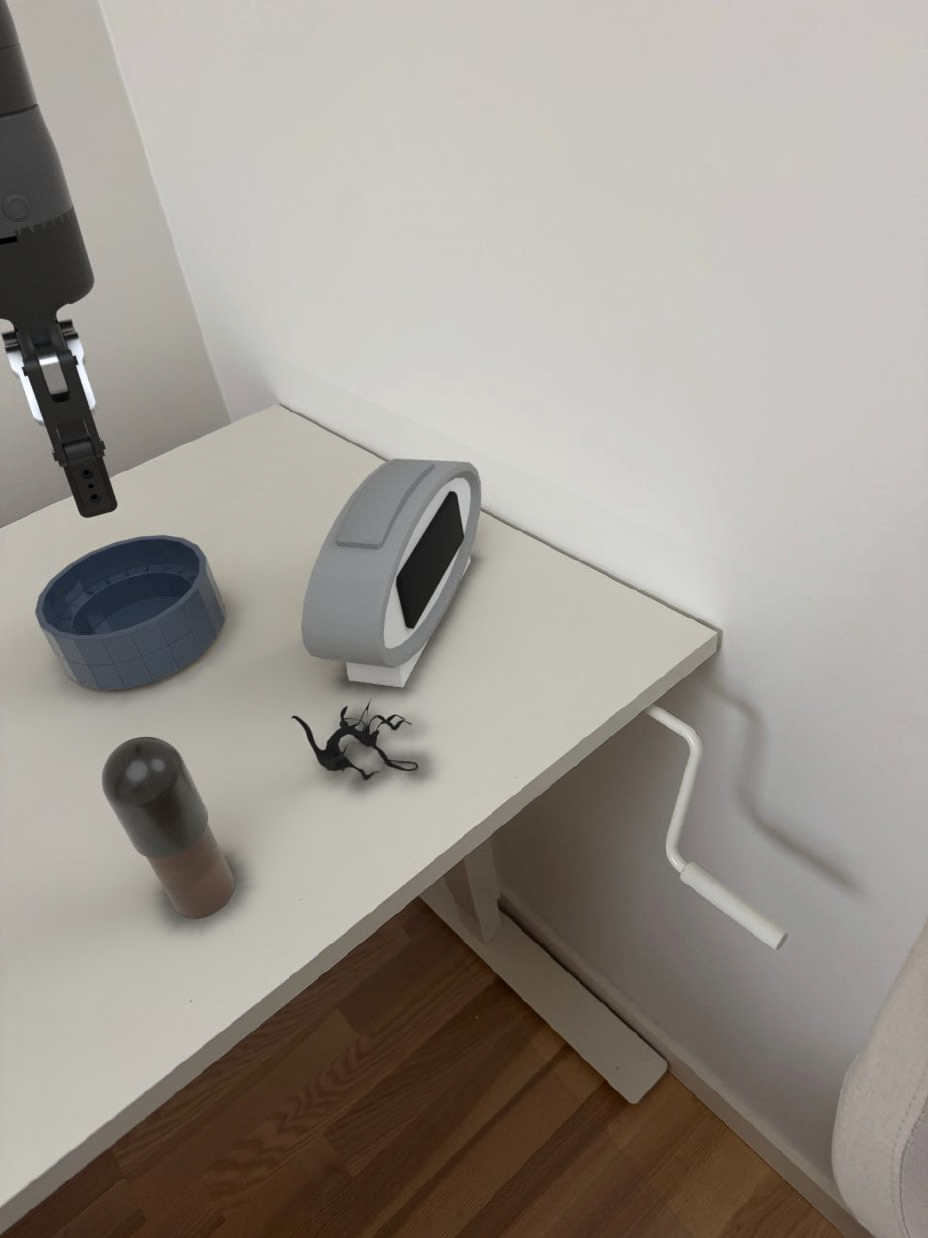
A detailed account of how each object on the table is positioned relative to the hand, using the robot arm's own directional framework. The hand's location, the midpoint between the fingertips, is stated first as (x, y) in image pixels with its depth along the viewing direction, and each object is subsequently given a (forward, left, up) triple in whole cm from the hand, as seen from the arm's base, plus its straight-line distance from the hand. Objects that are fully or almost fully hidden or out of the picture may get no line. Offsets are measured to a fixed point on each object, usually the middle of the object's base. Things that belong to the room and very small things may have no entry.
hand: (89, 481), depth 60 cm
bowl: (0, +14, -22) cm, 26 cm away
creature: (+10, -11, -22) cm, 27 cm away
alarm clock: (+20, +1, -22) cm, 30 cm away
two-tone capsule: (-4, -15, -22) cm, 27 cm away
